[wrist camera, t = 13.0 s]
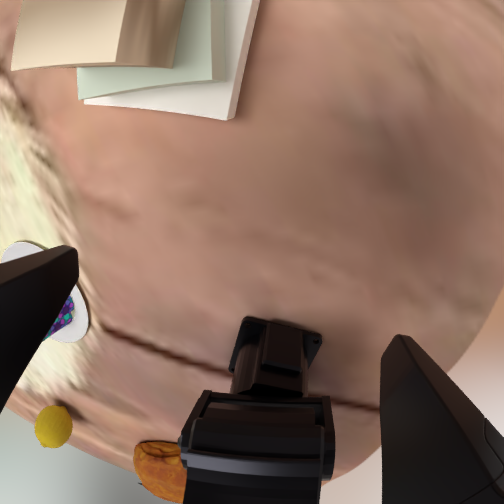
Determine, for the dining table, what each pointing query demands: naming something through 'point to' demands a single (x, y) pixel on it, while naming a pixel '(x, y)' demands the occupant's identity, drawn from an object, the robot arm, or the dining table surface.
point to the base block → (207, 94)
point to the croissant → (161, 469)
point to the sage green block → (185, 61)
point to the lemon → (53, 426)
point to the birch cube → (97, 33)
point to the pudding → (81, 316)
